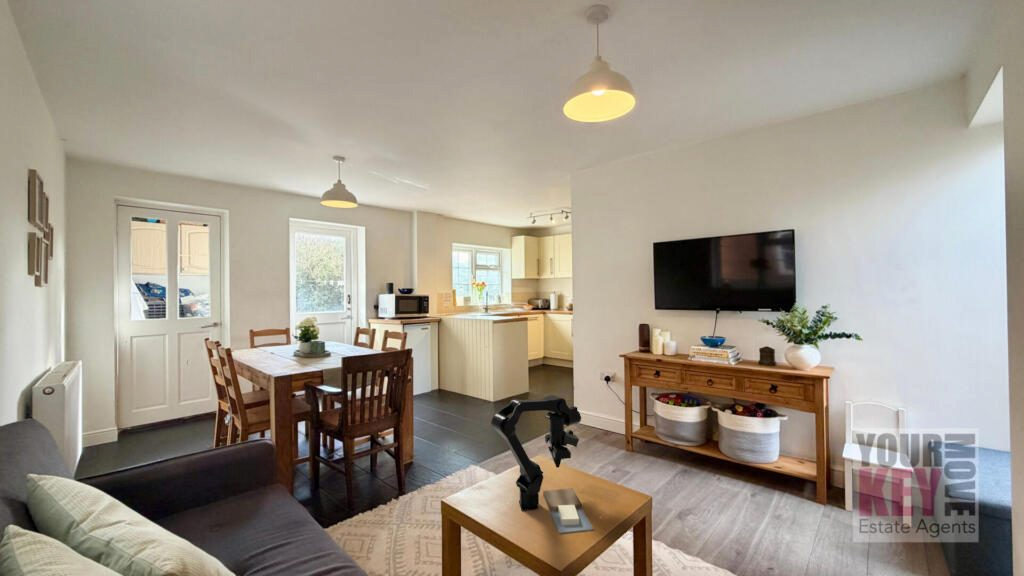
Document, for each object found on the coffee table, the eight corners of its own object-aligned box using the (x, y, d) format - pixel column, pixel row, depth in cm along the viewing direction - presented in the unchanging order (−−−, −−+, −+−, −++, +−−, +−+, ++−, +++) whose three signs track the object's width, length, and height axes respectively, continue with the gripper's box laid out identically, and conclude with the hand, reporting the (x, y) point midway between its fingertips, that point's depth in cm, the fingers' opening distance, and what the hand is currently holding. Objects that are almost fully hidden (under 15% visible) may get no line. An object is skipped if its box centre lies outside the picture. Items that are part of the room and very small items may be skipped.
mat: (559, 533, 141) (559, 532, 141) (550, 512, 154) (550, 511, 154) (593, 530, 143) (593, 528, 143) (582, 509, 156) (582, 508, 156)
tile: (561, 525, 145) (561, 519, 145) (558, 510, 154) (558, 505, 154) (579, 524, 146) (579, 518, 146) (574, 510, 155) (574, 504, 155)
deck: (550, 512, 154) (550, 507, 154) (543, 495, 166) (543, 490, 166) (581, 509, 156) (581, 504, 156) (572, 493, 168) (572, 488, 168)
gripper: (583, 435, 158) (584, 476, 158) (570, 419, 176) (570, 455, 177) (555, 437, 156) (555, 478, 157) (544, 420, 175) (544, 457, 175)
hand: (557, 467), depth 166 cm, fingers closed
